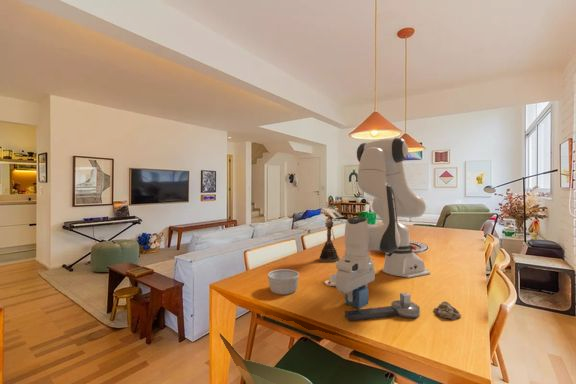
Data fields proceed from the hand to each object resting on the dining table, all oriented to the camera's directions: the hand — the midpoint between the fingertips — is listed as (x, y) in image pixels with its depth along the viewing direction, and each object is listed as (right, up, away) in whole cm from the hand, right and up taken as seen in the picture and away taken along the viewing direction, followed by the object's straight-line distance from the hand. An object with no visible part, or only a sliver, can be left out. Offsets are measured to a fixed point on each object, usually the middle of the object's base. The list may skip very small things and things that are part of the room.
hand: (356, 298), depth 102 cm
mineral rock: (+29, -3, -8) cm, 30 cm away
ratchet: (+7, -2, -9) cm, 11 cm away
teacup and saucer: (-8, -2, +21) cm, 22 cm away
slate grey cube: (0, -2, 0) cm, 2 cm away
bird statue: (+1, -1, +61) cm, 61 cm away
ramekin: (-28, -2, +15) cm, 31 cm away
